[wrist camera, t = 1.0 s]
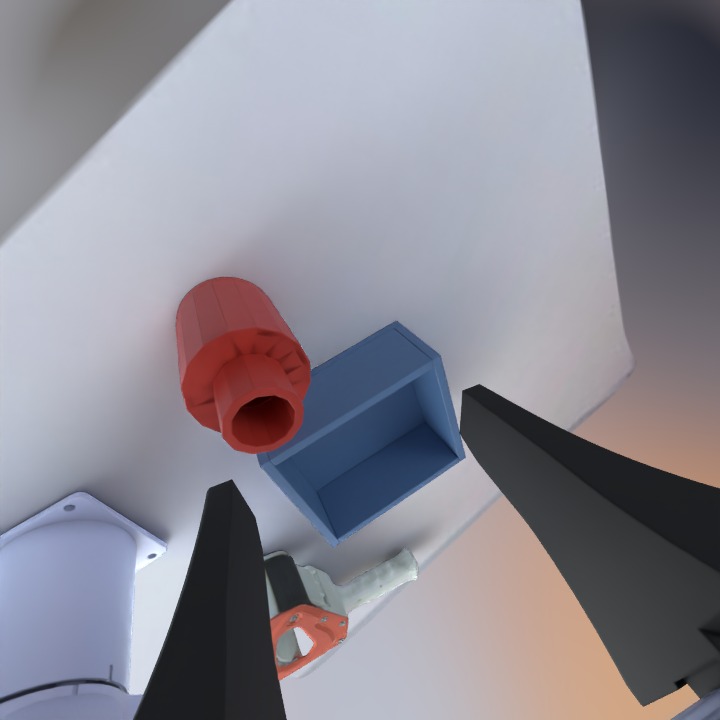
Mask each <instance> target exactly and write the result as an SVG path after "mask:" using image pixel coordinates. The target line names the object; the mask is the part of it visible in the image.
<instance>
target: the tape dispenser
mask: <svg viewBox="0 0 720 720" xmlns="http://www.w3.org/2000/svg"><path fill="white" fill-rule="evenodd" d="M263 557H264V566H265V575H266V584H267V594H268V603H269V613H270V623H271V632H272V642H273V649H274V656H275V663H276V668H277V673H278V678H279V680H281V679H283V678H285V677H286V676H288V675H290V674H291V673H293V672H295V671H296V670H298V669H300V668H301V667H303V666H304V665H306V664H308V663H309V662H311V661H313V660H314V659H316V658H317V657H319V656H321V655H322V654H324V653H325V652H327V651H328V650H329V649H331V648H333V647H335V646H336V645H338V644H340V643H342V642H343V640H344V639H345V638H346V637H347V629H348V614H349V613H350V612H351V611H352V610H353V609H355V608H357V607H359V606H361V605H364V604H366V603H368V602H370V601H372V600H374V599H376V598H378V597H380V596H382V595H384V594H386V593H388V592H390V591H391V590H393V589H395V588H396V587H398V586H400V585H401V584H403V583H405V582H408V581H411V580H417V578H418V575H419V567H418V563H417V561H416V559H415V558H414V556H413V554H412V553H411V552H410V551H409V549H406V548H404V549H403V550H402V551H401V552H400V553H399V554H398V555H397V556H395V557H393V558H391V559H389V560H386V561H384V562H383V563H381V564H379V565H378V566H376V567H374V568H371V569H370V570H368V571H366V572H365V573H363V574H361V575H359V576H357V577H355V578H354V579H353V580H351V581H350V582H348V583H347V584H344V585H341V586H338V585H334V584H333V583H332V581H331V579H330V577H329V575H328V574H327V573H325V572H323V571H321V570H318V569H316V568H314V567H312V566H310V565H308V566H304V567H301V566H299V565H297V564H295V563H294V561H293V558H292V557H291V556H288V554H287V552H284V551H277V552H274V553H271V554H268V555H266V556H263ZM294 627H300V628H302V629H303V630H304V632H305V633H306V634H307V635H308V636H309V638H310V639H312V641H313V642H314V645H313V647H312V648H311V650H310V651H309V653H308V654H307V655H306V656H302V654H301V651H300V649H299V646H298V642H297V638H296V635H295V632H294V629H293V628H294Z"/></svg>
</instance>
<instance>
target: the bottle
mask: <svg viewBox="0 0 720 720" xmlns="http://www.w3.org/2000/svg"><path fill="white" fill-rule="evenodd" d="M176 336H177V348H178V360H179V372H180V384H181V391H182V395H183V399H184V402H185V406H186V409H187V410H188V412H189V413H190V414H191V415H192V416H193V417H194V418H195V419H196V420H197V421H198V422H199V423H200V424H201V425H203V426H205V427H207V428H210V429H212V430H215V431H217V432H220V433H221V434H222V437H223V439H224V440H225V441H226V442H227V443H228V444H229V445H230V446H231V447H232V448H233V449H234V450H237V451H241V452H245V453H249V454H258V453H263V452H268V451H273V450H275V449H277V448H278V447H280V446H282V445H283V444H285V443H287V442H288V441H290V440H291V439H292V438H293V437H294V435H295V434H296V432H297V431H298V430H299V428H300V427H301V426H302V423H303V414H304V406H303V404H302V402H303V400H304V397H305V395H306V392H307V390H308V387H309V385H310V381H311V377H310V362H309V360H308V358H307V356H306V354H305V352H304V351H303V349H302V347H301V345H300V344H299V342H298V341H297V339H296V338H295V336H294V335H293V333H292V332H291V330H290V329H289V327H288V326H287V324H286V323H285V321H284V320H283V318H282V317H281V315H280V314H279V312H278V311H277V309H276V308H275V306H274V305H273V303H272V302H271V300H270V299H269V297H268V296H267V295H266V294H265V293H264V292H263V291H262V290H261V289H260V288H259V287H257V286H256V285H254V284H252V283H250V282H248V281H246V280H243V279H239V278H234V277H219V278H214V279H210V280H207V281H205V282H202V283H200V284H199V285H197V286H195V287H194V288H193V289H192V290H190V291H189V292H188V293H187V295H186V296H185V297H184V299H183V300H182V302H181V304H180V306H179V308H178V312H177V317H176Z"/></svg>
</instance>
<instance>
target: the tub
mask: <svg viewBox="0 0 720 720" xmlns="http://www.w3.org/2000/svg"><path fill="white" fill-rule="evenodd" d="M310 377H311V381H310V385H309V387H308V390H307V392H306V395H305V397H304V400H303V402H302V404H303V406H304V414H303V423H302V426H301V427H300V428H299V430H298V431H297V432H296V434H295V435H294V437H293V438H292V439H291V440H290V441H288V442H287V443H285V444H283V445H282V446H280V447H278V448H277V449H275V450H273V451H268V452H263V453H258V454H256V455H257V458H258V461H259V465H260V467H261V468H262V469H263V470H264V471H265V473H266V474H267V475H268V476H269V477H270V478H271V479H272V480H273V481H274V483H275V484H276V485H277V486H278V487H279V488H280V489H281V490H282V491H283V492H284V494H285V495H286V496H287V497H288V498H289V499H290V500H291V501H292V502H293V504H294V505H295V506H296V507H297V508H298V509H299V510H300V511H301V512H302V514H303V515H304V516H305V517H306V518H307V519H308V520H309V521H310V522H311V524H312V525H313V526H314V527H315V528H316V529H317V530H318V531H319V532H320V534H321V535H322V536H323V537H324V538H325V539H326V540H327V541H328V542H329V544H330V545H331V546H332V547H335V546H336V545H338V544H339V543H340V542H342V541H344V540H345V539H346V538H348V537H349V536H351V535H352V534H354V533H355V532H357V531H358V530H360V529H361V528H363V527H364V526H366V525H367V524H369V523H370V522H372V521H373V520H375V519H376V518H377V517H379V516H380V515H382V514H383V513H385V512H386V511H388V510H389V509H391V508H392V507H394V506H395V505H397V504H398V503H400V502H401V501H403V500H404V499H405V498H407V497H408V496H410V495H411V494H413V493H414V492H416V491H417V490H419V489H420V488H422V487H423V486H425V485H426V484H428V483H429V482H431V481H432V480H433V479H435V478H436V477H438V476H439V475H441V474H442V473H444V472H445V471H447V470H448V469H450V468H451V467H453V466H454V465H456V464H457V463H459V461H461V460H463V459H464V458H466V457H465V452H464V448H463V444H462V440H461V436H460V432H459V428H458V424H457V420H456V416H455V412H454V408H453V404H452V400H451V395H450V391H449V387H448V383H447V379H446V375H445V371H444V367H443V363H442V359H441V355H440V354H438V353H437V352H436V351H435V350H433V349H432V348H431V347H430V346H428V345H427V344H426V343H424V342H423V341H422V340H421V339H419V338H418V337H417V336H416V335H414V334H413V333H412V332H410V331H409V330H408V329H407V328H405V327H404V326H403V325H402V324H400V323H399V322H398V321H395V322H393V323H392V324H390V325H388V326H387V327H385V328H383V329H382V330H380V331H378V332H376V333H375V334H373V335H371V336H370V337H368V338H366V339H364V340H363V341H361V342H359V343H358V344H356V345H354V346H353V347H351V348H349V349H347V350H346V351H344V352H342V353H341V354H339V355H337V356H335V357H334V358H332V359H330V360H329V361H327V362H325V363H323V364H322V365H320V366H318V367H317V368H315V369H313V370H312V371H310Z"/></svg>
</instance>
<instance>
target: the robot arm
mask: <svg viewBox="0 0 720 720" xmlns="http://www.w3.org/2000/svg"><path fill="white" fill-rule="evenodd" d="M460 435H461V436H462V438H463V440H464V441H465V443H466V444H467V446H468V448H469V449H470V451H471V452H472V454H473V456H474V457H475V459H476V460H477V462H478V463H479V464H480V465H481V467H482V468H483V469H484V470H485V472H486V473H487V474H488V475H489V477H490V478H491V479H492V480H493V482H494V483H495V484H496V485H497V487H498V488H499V489H500V490H501V492H502V493H503V494H504V495H505V496H506V498H507V499H508V500H509V501H510V502H511V504H512V505H513V506H514V508H516V510H517V511H518V512H519V514H520V515H521V516H522V517H523V519H524V520H525V521H526V523H527V524H528V525H529V527H530V528H531V529H532V531H533V532H534V533H535V535H536V536H537V538H538V539H539V541H540V542H541V544H542V545H543V547H544V548H545V549H546V551H547V553H548V554H549V555H550V557H551V559H552V560H553V561H554V563H555V565H556V566H557V568H558V569H559V571H560V573H561V574H562V576H563V577H564V579H565V580H566V582H567V584H568V585H569V587H570V588H571V590H572V591H573V593H574V595H575V596H576V598H577V600H578V601H579V603H580V605H581V606H582V608H583V609H584V611H585V613H586V614H587V616H588V618H589V619H590V621H591V623H592V624H593V626H594V628H595V629H596V631H597V633H598V634H599V636H600V638H601V640H602V642H603V643H604V645H605V647H606V649H607V650H608V652H609V654H610V656H611V657H612V659H613V661H614V663H615V665H616V666H617V668H618V670H619V672H620V674H621V676H622V678H623V679H624V681H625V683H626V685H627V686H628V688H629V689H630V690H631V692H632V693H633V695H634V696H635V697H636V698H637V700H638V701H639V702H640V704H641V705H642V706H646V705H648V704H650V703H652V702H654V701H656V700H658V699H660V698H662V697H664V696H666V695H668V694H671V693H673V692H674V691H677V690H678V689H680V688H682V687H683V686H684V685H686V684H688V685H689V686H690V687H691V688H692V690H693V691H694V692H695V693H696V694H697V696H698V697H699V698H700V700H698V701H697V702H695V703H694V704H693V705H691V706H690V707H688V708H687V709H685V710H684V711H682V712H681V713H679V714H678V715H676V716H675V717H674V718H672V719H671V720H720V488H716V487H713V486H709V485H706V484H703V483H699V482H696V481H693V480H690V479H687V478H683V477H680V476H677V475H675V474H671V473H668V472H666V471H662V470H660V469H657V468H654V467H651V466H648V465H646V464H643V463H640V462H637V461H635V460H632V459H630V458H627V457H624V456H622V455H620V454H617V453H614V452H612V451H610V450H607V449H605V448H603V447H600V446H598V445H596V444H593V443H591V442H589V441H587V440H585V439H583V438H580V437H578V436H576V435H574V434H572V433H570V432H568V431H566V430H564V429H562V428H560V427H557V426H555V425H554V424H552V423H550V422H548V421H546V420H544V419H542V418H540V417H538V416H536V415H534V414H532V413H531V412H529V411H527V410H525V409H523V408H521V407H520V406H518V405H516V404H514V403H512V402H511V401H509V400H507V399H505V398H503V397H502V396H500V395H498V394H496V393H495V392H493V391H491V390H489V389H487V388H486V387H484V386H482V385H480V384H478V385H476V386H473V387H471V388H468V389H465V390H463V391H462V406H461V421H460ZM67 505H73V506H67ZM166 551H167V544H166V543H165V542H163V541H162V540H160V539H158V538H157V537H155V536H154V535H152V534H151V533H149V532H147V531H146V530H144V529H143V528H141V527H139V526H138V525H136V524H135V523H133V522H132V521H130V520H128V519H127V518H125V517H124V516H122V515H121V514H119V513H117V512H116V511H114V510H113V509H111V508H109V507H108V506H106V505H105V504H103V503H102V502H100V501H98V500H97V499H95V498H94V497H92V496H91V495H89V494H87V493H85V492H76V493H74V494H71V495H70V496H68V497H66V498H65V499H63V500H61V501H59V502H58V503H56V504H54V505H52V506H51V507H49V508H47V509H45V510H44V511H42V512H40V513H39V514H37V515H35V516H33V517H32V518H30V519H28V520H26V521H25V522H23V523H21V524H20V525H18V526H16V527H14V528H13V529H11V530H9V531H7V532H6V533H4V534H2V535H1V536H0V720H287V719H286V714H285V709H284V704H283V699H282V694H281V689H280V683H279V678H278V673H277V668H276V663H275V656H274V649H273V642H272V632H271V623H270V613H269V603H268V594H267V584H266V575H265V566H264V557H263V550H262V546H261V541H260V536H259V532H258V527H257V523H256V518H255V516H254V514H253V513H252V511H251V509H250V508H249V506H248V505H247V503H246V501H245V500H244V498H243V496H242V495H241V493H240V492H239V490H238V488H237V487H236V485H235V483H234V482H233V480H229V481H226V482H224V483H221V484H219V485H216V486H213V487H211V488H209V490H208V491H207V494H206V499H205V504H204V509H203V514H202V518H201V523H200V527H199V531H198V535H197V539H196V543H195V547H194V550H193V554H192V557H191V561H190V565H189V568H188V572H187V575H186V579H185V582H184V585H183V588H182V591H181V594H180V597H179V600H178V603H177V606H176V610H175V613H174V616H173V619H172V622H171V625H170V627H169V630H168V633H167V636H166V639H165V641H164V644H163V647H162V649H161V652H160V655H159V657H158V660H157V662H156V665H155V667H154V670H153V672H152V675H151V677H150V680H149V682H148V685H147V687H146V690H145V692H144V695H129V679H130V661H131V643H132V625H133V607H134V589H135V572H136V571H138V570H139V569H141V568H142V567H144V566H145V565H147V564H149V563H150V562H152V561H153V560H155V559H157V558H158V557H160V556H161V555H163V554H164V553H165V552H166Z"/></svg>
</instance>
